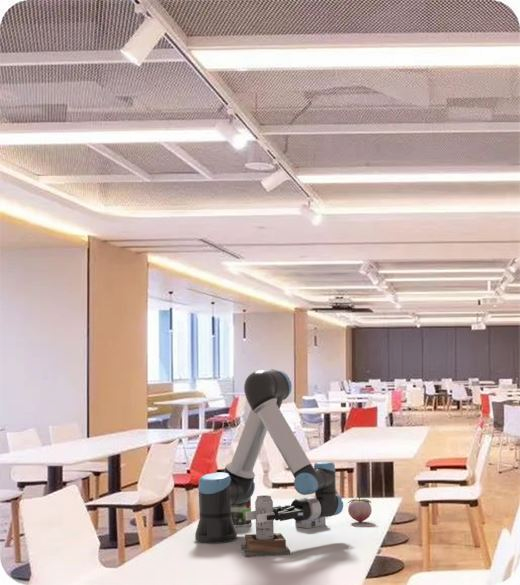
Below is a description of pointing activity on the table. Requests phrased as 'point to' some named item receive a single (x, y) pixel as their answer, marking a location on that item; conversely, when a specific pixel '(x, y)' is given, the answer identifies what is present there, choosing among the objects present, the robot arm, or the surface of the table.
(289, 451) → the robot arm
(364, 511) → the decorative fruit
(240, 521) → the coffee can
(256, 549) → the brown wooden open box
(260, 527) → the energy drink can
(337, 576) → the table surface
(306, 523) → the light bulb box
